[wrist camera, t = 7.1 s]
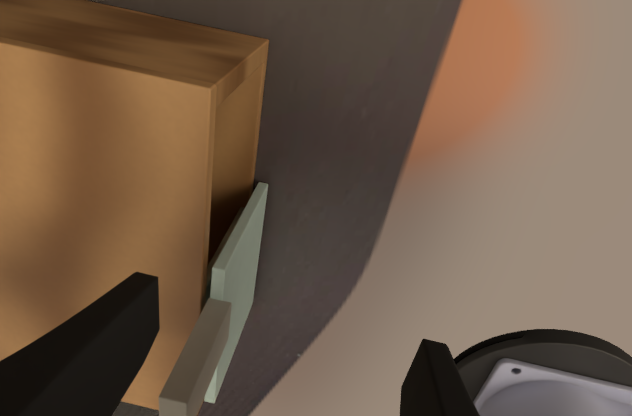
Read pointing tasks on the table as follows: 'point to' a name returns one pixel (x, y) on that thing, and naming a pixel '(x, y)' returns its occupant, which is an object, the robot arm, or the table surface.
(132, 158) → the cabinet
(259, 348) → the table surface
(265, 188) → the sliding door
